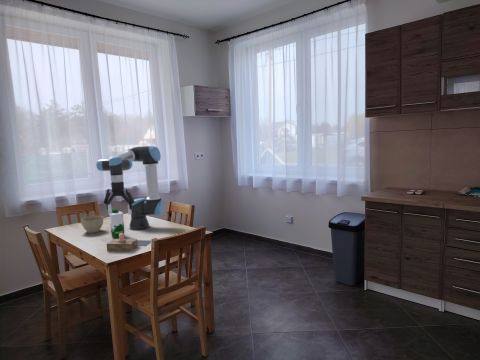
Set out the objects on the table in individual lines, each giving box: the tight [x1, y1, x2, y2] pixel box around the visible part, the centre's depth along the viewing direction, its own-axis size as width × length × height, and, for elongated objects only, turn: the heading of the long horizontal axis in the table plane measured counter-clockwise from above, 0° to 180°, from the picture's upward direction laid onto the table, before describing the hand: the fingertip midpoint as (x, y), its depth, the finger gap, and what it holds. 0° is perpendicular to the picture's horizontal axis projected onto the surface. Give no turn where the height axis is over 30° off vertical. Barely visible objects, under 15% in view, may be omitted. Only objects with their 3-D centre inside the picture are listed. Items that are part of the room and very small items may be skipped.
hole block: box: [106, 238, 139, 252], centre depth 216 cm, size 10×16×5 cm, turn 81°
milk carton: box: [109, 208, 125, 240], centre depth 242 cm, size 9×9×20 cm
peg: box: [118, 232, 125, 243], centre depth 216 cm, size 3×3×10 cm
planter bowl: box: [80, 215, 104, 234], centre depth 260 cm, size 16×16×11 cm
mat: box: [137, 239, 152, 247], centre depth 226 cm, size 12×12×1 cm
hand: (120, 214), depth 214 cm, fingers open, 13 cm apart
